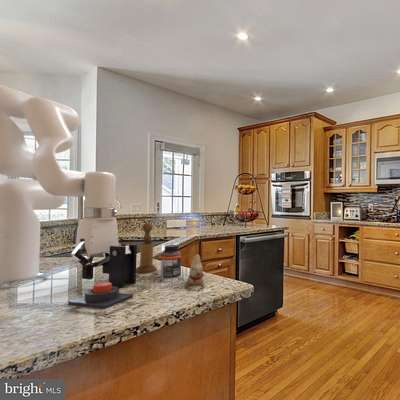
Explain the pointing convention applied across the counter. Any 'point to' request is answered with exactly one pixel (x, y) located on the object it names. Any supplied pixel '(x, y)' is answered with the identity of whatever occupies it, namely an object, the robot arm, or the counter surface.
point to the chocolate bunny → (196, 272)
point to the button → (102, 287)
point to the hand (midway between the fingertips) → (97, 275)
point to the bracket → (122, 265)
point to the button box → (101, 299)
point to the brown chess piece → (146, 252)
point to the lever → (103, 261)
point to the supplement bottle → (171, 262)
